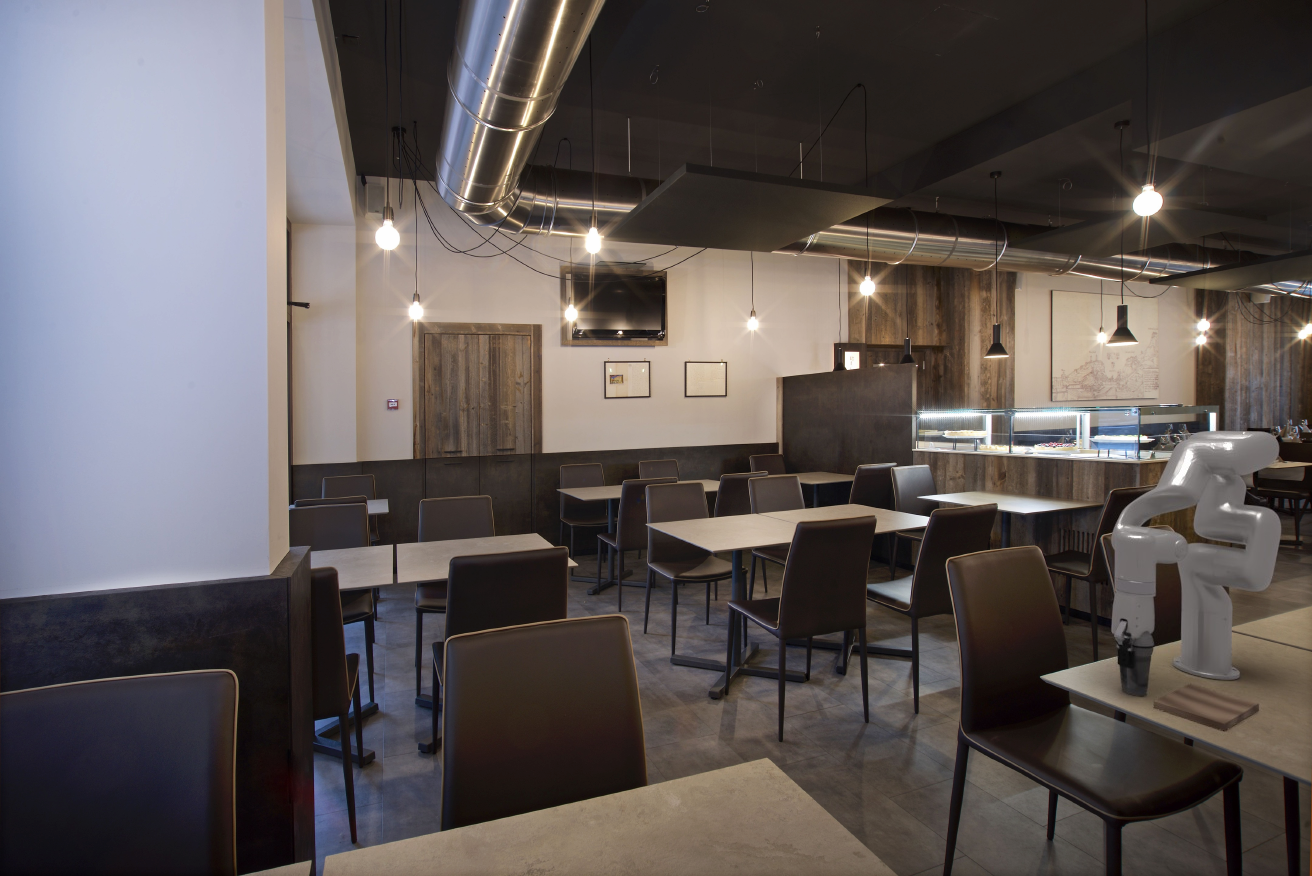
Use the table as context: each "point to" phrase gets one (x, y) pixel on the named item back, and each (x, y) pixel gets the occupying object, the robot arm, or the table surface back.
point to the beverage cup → (1138, 666)
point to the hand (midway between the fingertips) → (1134, 662)
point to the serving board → (1207, 706)
